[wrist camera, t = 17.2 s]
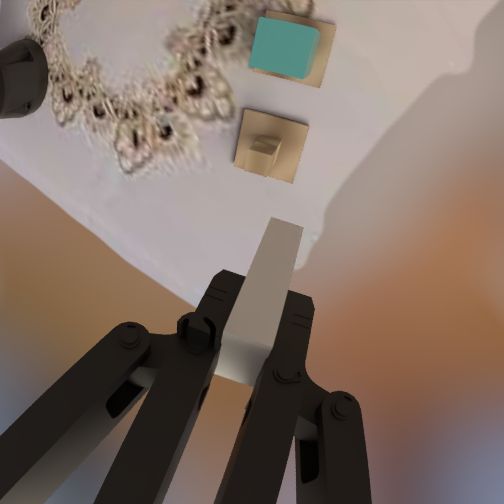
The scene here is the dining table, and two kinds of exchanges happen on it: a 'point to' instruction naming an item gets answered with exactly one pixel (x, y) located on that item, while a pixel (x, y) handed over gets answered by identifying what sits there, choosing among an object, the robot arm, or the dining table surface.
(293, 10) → the dining table surface
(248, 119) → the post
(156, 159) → the dining table surface
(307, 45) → the teal rectangular block
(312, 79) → the post
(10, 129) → the dining table surface
